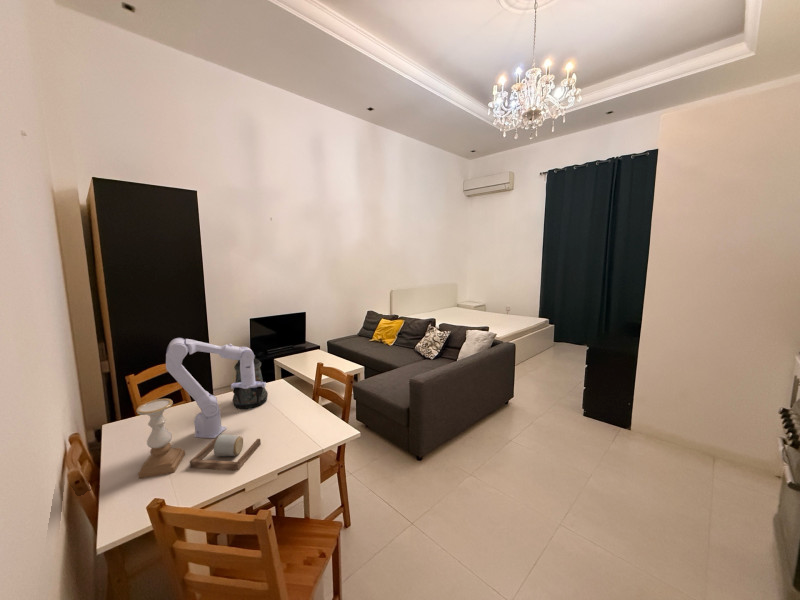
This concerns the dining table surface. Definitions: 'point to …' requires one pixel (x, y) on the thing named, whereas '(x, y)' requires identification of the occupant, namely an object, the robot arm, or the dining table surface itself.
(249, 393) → the beer stein
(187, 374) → the robot arm
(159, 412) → the candle holder
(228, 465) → the walnut dock
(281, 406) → the dining table surface
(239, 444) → the ceramic mug
